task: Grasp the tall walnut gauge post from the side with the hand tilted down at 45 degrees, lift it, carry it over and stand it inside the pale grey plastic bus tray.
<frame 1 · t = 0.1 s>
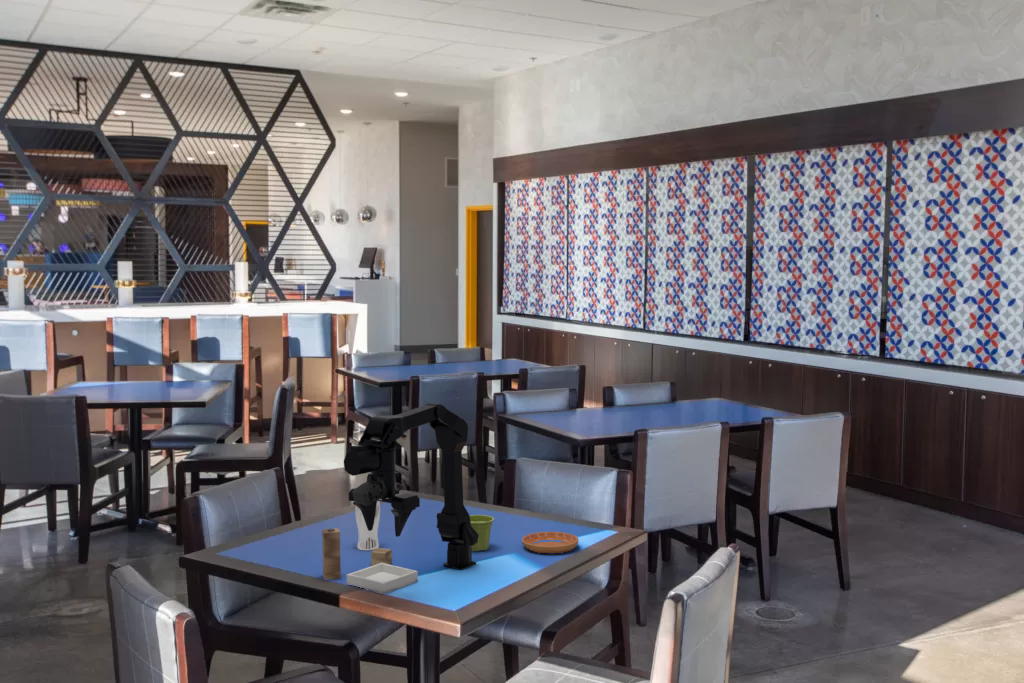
hand: (383, 533, 230), 15 cm above the table, tool pointing down, fingers open, 9 cm apart
walnut gauge post: (331, 577, 243), on the table
bus tray: (382, 583, 238), on the table
beer glass: (368, 548, 271), on the table
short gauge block: (381, 565, 254), on the table
saucer: (550, 549, 270), on the table
plant pot: (477, 549, 269), on the table
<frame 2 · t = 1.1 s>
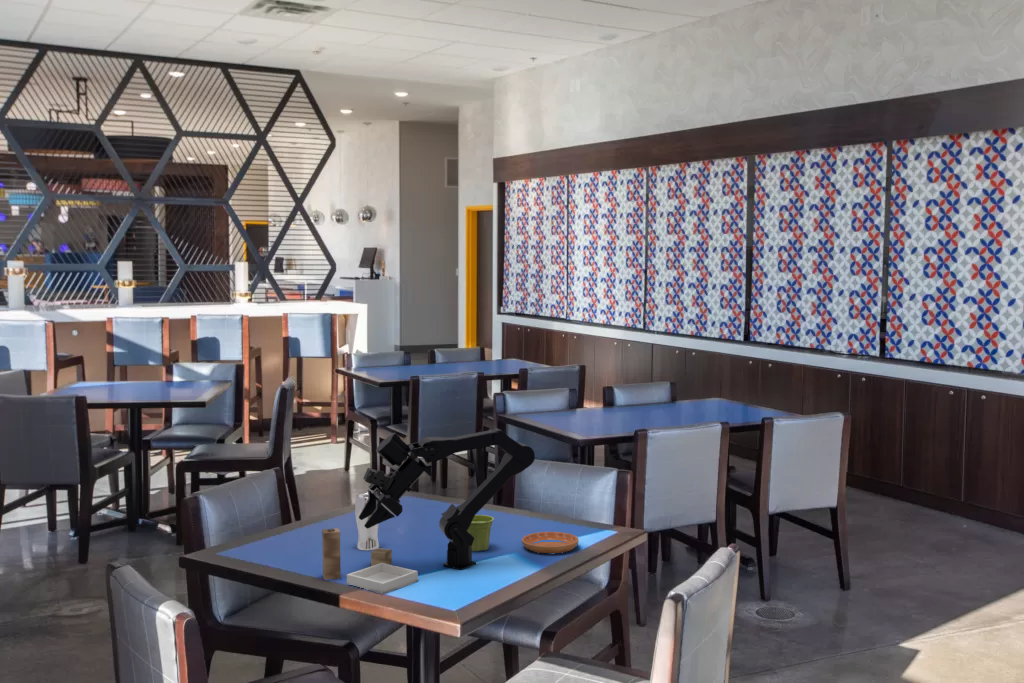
hand: (362, 523, 245), 13 cm above the table, tool tilted 45°, fingers open, 9 cm apart
nothing on the table moved.
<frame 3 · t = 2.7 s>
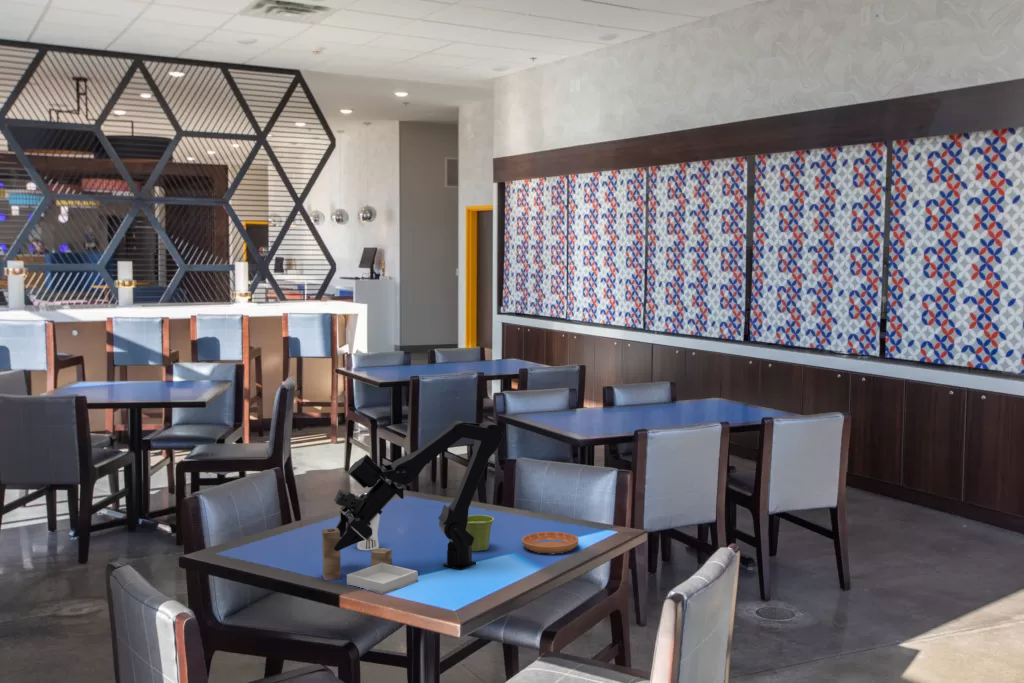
hand: (332, 545, 243), 8 cm above the table, tool tilted 45°, fingers open, 9 cm apart
nothing on the table moved.
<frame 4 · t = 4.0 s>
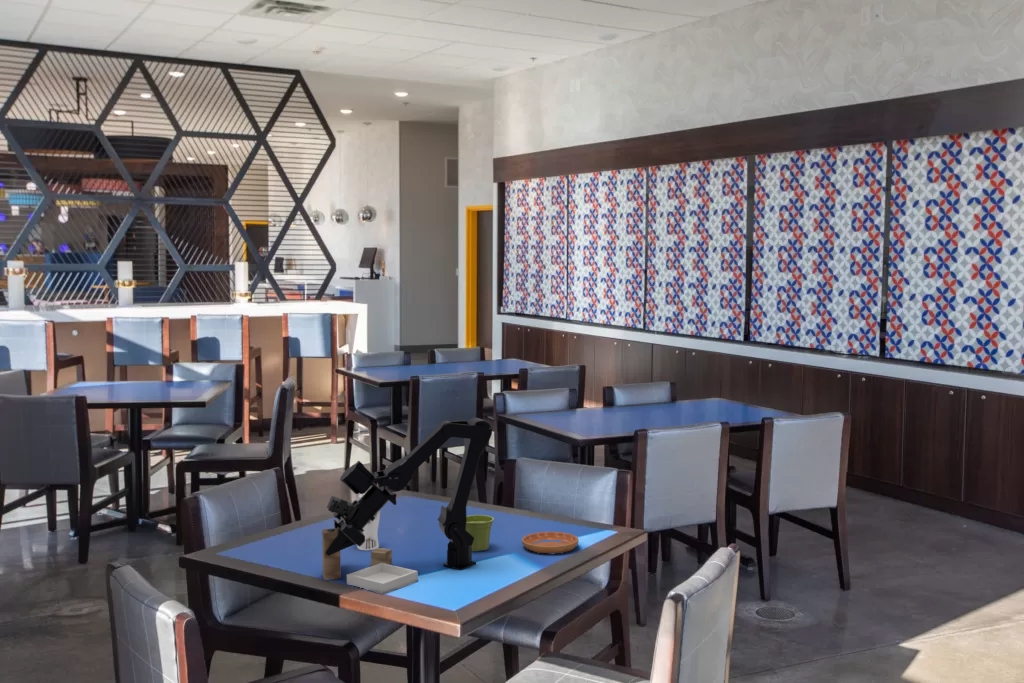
hand: (325, 552, 243), 7 cm above the table, tool tilted 45°, fingers closed on walnut gauge post, 4 cm apart
walnut gauge post: (331, 577, 243), on the table, touching gripper
everything else where it was.
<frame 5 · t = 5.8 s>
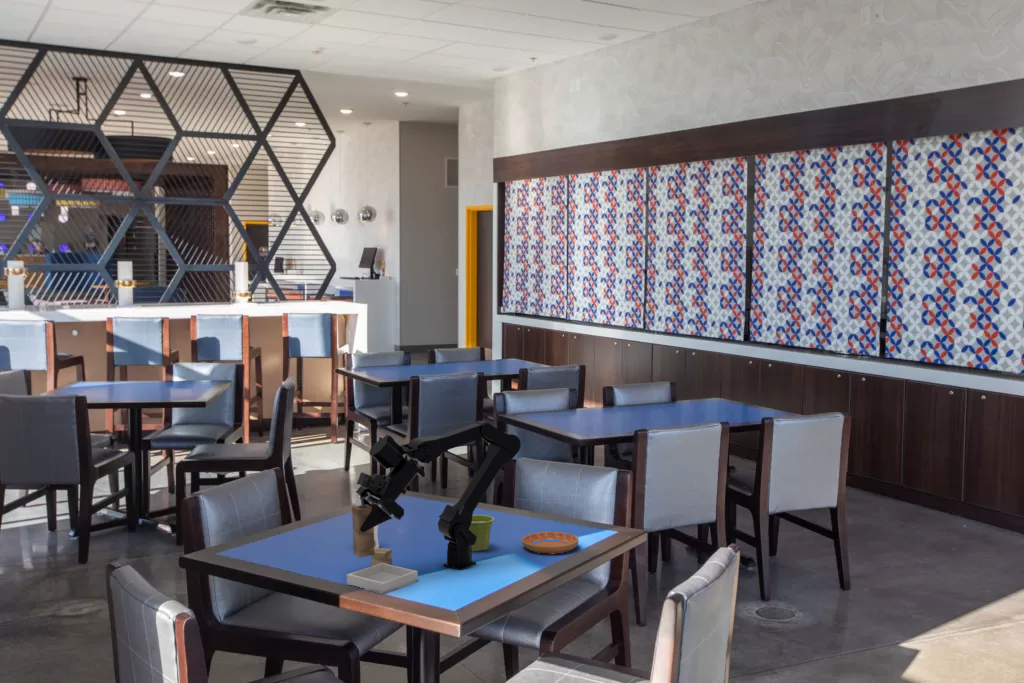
hand: (358, 529, 238), 14 cm above the table, tool tilted 45°, fingers closed on walnut gauge post, 4 cm apart
walnut gauge post: (364, 554, 239), point 7 cm above the table, touching gripper
everything else where it was.
when the fingers open (8 cm above the table, at t = 7.8 s): walnut gauge post stays where it is, resting on bus tray.
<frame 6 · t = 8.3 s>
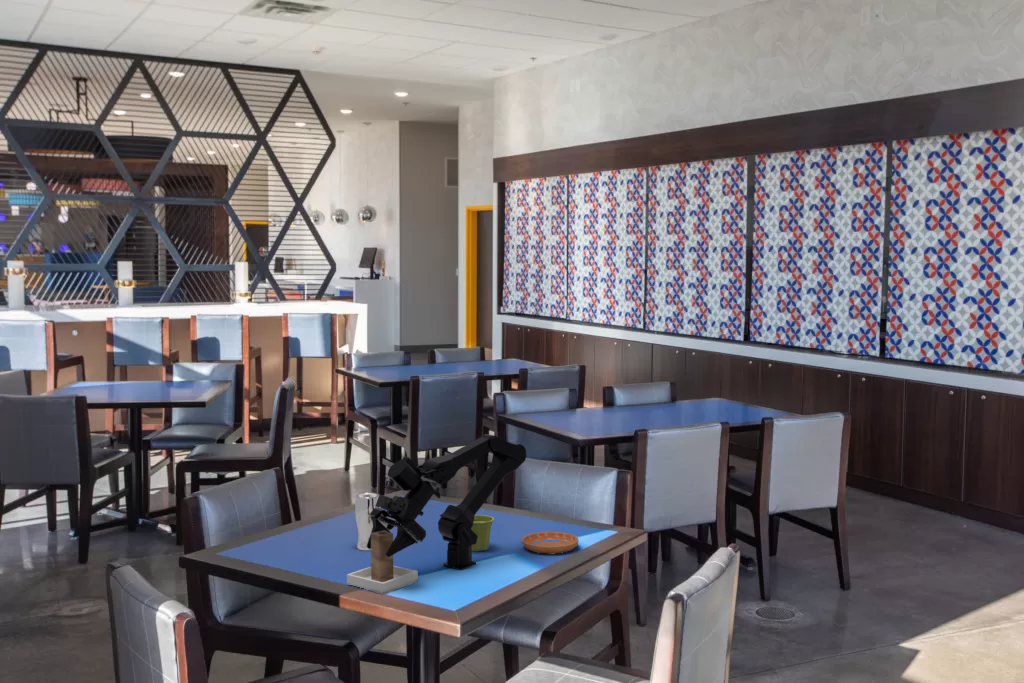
hand: (377, 551, 237), 8 cm above the table, tool tilted 45°, fingers open, 9 cm apart
walnut gauge post: (382, 580, 238), point 1 cm above the table, touching bus tray
everything else where it was.
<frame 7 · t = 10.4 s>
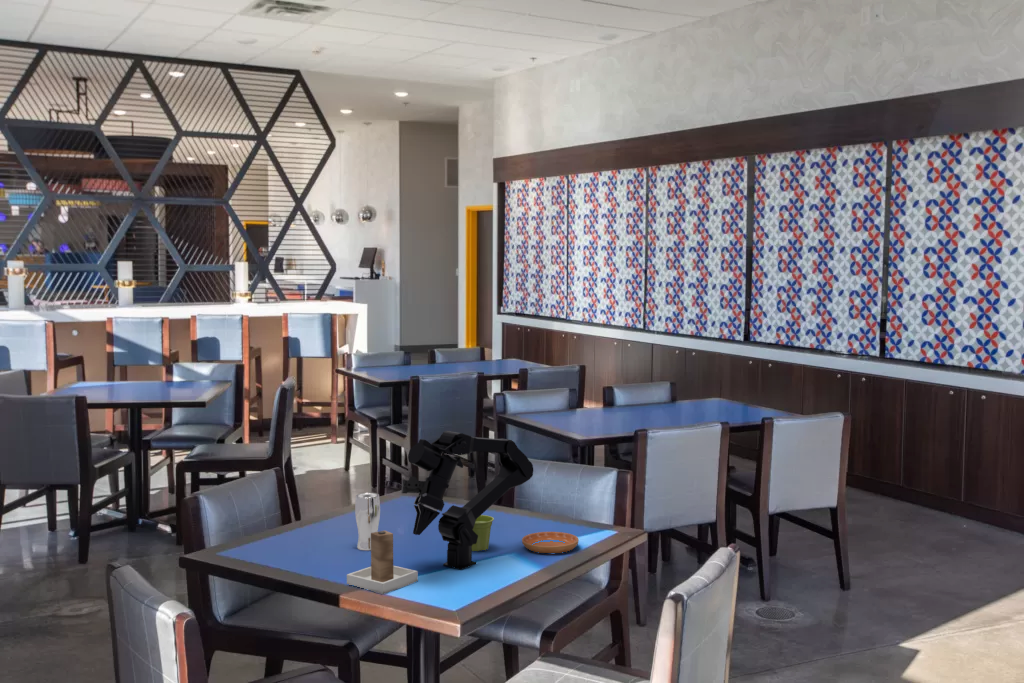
hand: (416, 534, 244), 11 cm above the table, tool tilted 30°, fingers open, 9 cm apart
nothing on the table moved.
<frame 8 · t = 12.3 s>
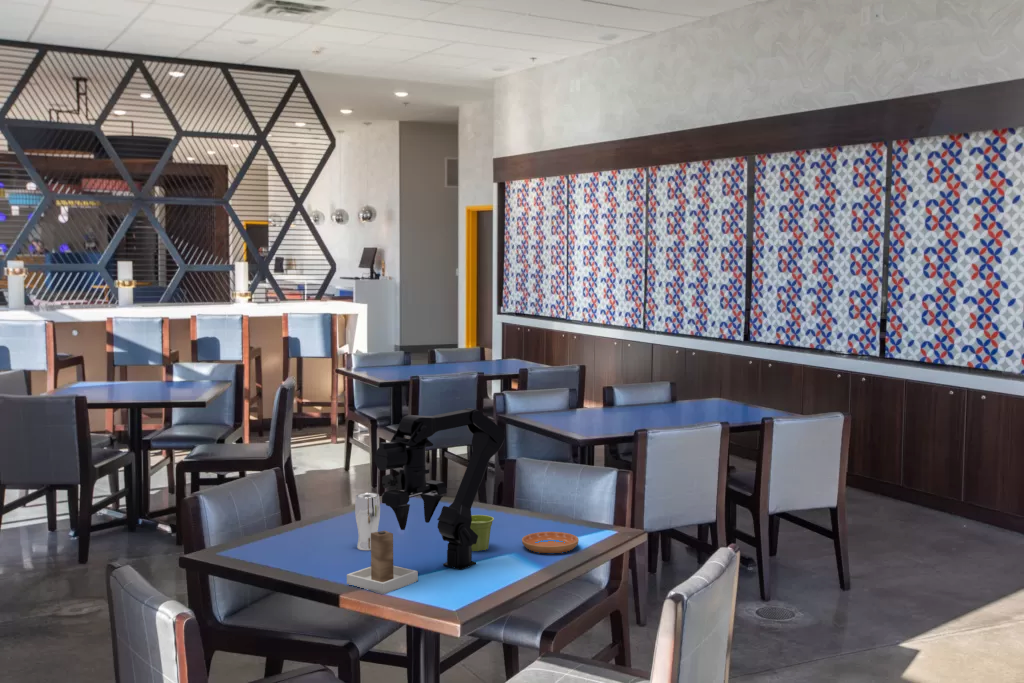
hand: (415, 526, 243), 13 cm above the table, tool pointing down, fingers open, 9 cm apart
nothing on the table moved.
at the end: walnut gauge post inside the target area on the bus tray (0.0 cm from its centre), point 0.6 cm above the bus tray's base; walnut gauge post tilted 0°; the gripper is holding nothing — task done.
